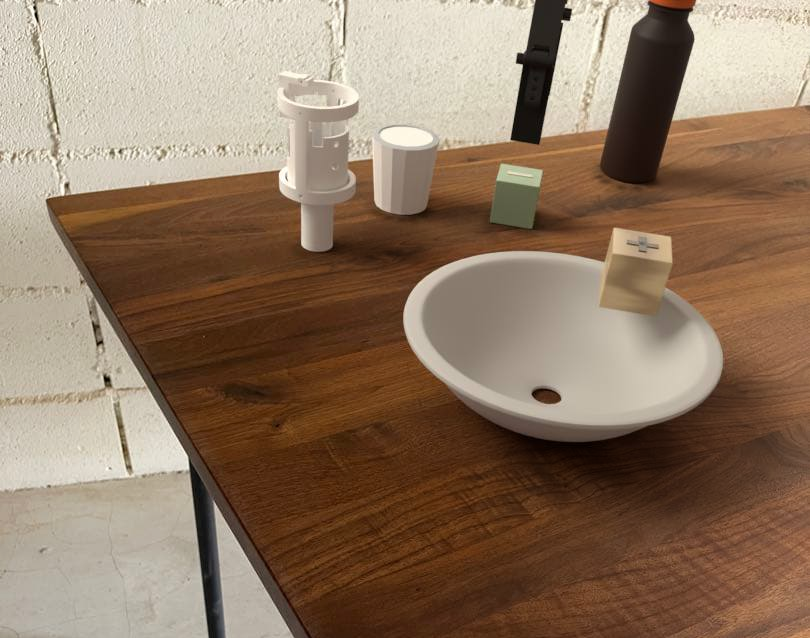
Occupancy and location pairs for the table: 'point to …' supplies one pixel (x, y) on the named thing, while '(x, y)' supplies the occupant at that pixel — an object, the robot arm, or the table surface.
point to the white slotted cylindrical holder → (316, 153)
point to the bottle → (648, 91)
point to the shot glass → (403, 167)
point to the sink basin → (558, 347)
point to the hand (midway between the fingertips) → (531, 115)
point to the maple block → (635, 271)
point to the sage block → (516, 196)
